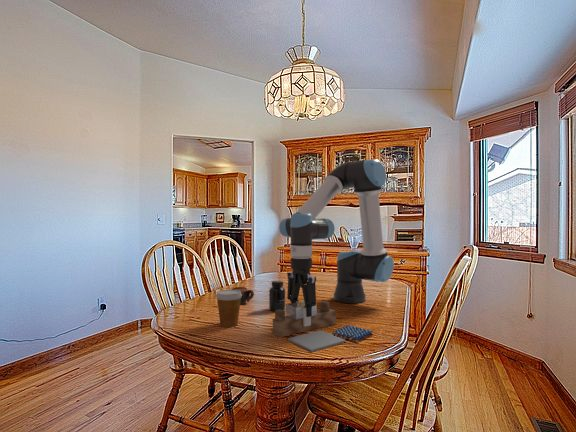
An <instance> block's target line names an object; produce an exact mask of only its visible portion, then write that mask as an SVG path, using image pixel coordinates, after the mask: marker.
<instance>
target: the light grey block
mask: <svg viewBox="0 0 576 432" xmlns="http://www.w3.org/2000/svg"><path fill="white" fill-rule="evenodd" d="M303 306H305V303H304V299H302V300H299V301H297V302H295V303H291V302H290V303H285V316H288V317H291V318H293V319H296V320H297V319H301V318H303ZM317 310H318V308H317V303H316V306H312V316H315V315H317Z"/></svg>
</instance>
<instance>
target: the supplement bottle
mask: <svg viewBox="0 0 576 432" xmlns="http://www.w3.org/2000/svg"><path fill="white" fill-rule="evenodd" d="M268 292H269V295H268V297H269V299H268V308H269V310H270V311H272V312H275V310H279V309H280V310H283V311H286V288H285V287H284V281H282V280H271V287H270V288H269V290H268Z"/></svg>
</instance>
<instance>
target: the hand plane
mask: <svg viewBox="0 0 576 432" xmlns="http://www.w3.org/2000/svg"><path fill="white" fill-rule="evenodd" d="M319 305H320V309H317V315H315V316H311V325H310V326H303V318H301V319H297V320H296V319H293V318H291V317H288V316H286V310H280V309H279V310H275V311H274V318H272V335H274V336H276V337H278V338H283V337H287V336H291V335H294V334H295V335H296V334H299V333H304V332H309V331H314V330H316V329H319V328H324V327H328V326H332V325H333V324H334V325H336V324H337V310H335V309H332V308H330V302H329V301H327V300H326V301H320V304H319ZM334 325H333V326H334Z"/></svg>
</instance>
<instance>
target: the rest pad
mask: <svg viewBox="0 0 576 432" xmlns="http://www.w3.org/2000/svg"><path fill="white" fill-rule="evenodd" d="M287 341H289V342H290V343H293V344H295V345H297V346H299V347H301V348H302V349H304V350H307V351H309V352H312V353H314V352H316V351H320V350H323V349H327V348H330V347H334V346H336V345H338V346H339V345H340V344H344V342H345V343H346V342H347V340H346V339H344V338H341V337H339V336H338V337H337V336H334V334H332V333H329V332H327V331H324V330H321V329H320V330H317V331H312V332H309V333H304V334H301V335H297V336H293V337H289V338H287Z"/></svg>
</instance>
